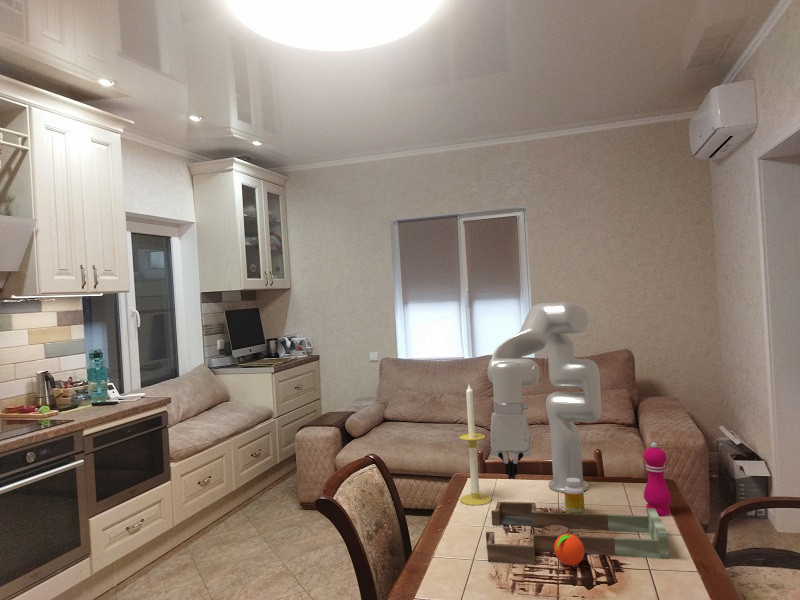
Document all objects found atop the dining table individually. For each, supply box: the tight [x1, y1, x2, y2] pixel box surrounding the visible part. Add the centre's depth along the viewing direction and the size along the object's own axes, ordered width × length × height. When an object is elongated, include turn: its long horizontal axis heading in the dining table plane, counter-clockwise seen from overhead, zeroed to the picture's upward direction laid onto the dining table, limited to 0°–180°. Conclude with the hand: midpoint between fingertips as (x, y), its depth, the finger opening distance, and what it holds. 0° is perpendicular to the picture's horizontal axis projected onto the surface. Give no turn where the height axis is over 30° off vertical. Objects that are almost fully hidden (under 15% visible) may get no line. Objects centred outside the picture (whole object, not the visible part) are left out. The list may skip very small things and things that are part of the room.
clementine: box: [553, 534, 585, 567], centre depth 133 cm, size 8×7×7 cm
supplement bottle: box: [563, 478, 586, 514], centre depth 164 cm, size 5×5×10 cm
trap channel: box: [485, 501, 670, 565], centre depth 146 cm, size 30×43×6 cm
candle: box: [458, 384, 492, 507], centre depth 179 cm, size 10×10×38 cm
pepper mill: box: [643, 441, 672, 517], centre depth 161 cm, size 7×7×20 cm
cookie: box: [539, 525, 580, 536], centre depth 147 cm, size 10×11×3 cm
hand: (512, 477), depth 149 cm, fingers closed
